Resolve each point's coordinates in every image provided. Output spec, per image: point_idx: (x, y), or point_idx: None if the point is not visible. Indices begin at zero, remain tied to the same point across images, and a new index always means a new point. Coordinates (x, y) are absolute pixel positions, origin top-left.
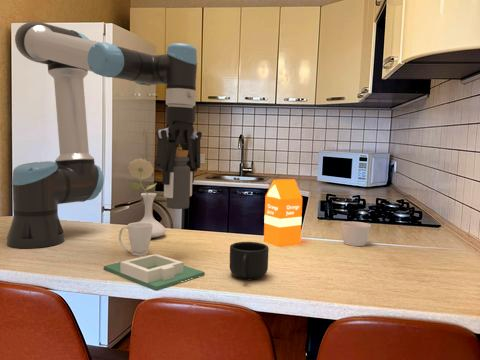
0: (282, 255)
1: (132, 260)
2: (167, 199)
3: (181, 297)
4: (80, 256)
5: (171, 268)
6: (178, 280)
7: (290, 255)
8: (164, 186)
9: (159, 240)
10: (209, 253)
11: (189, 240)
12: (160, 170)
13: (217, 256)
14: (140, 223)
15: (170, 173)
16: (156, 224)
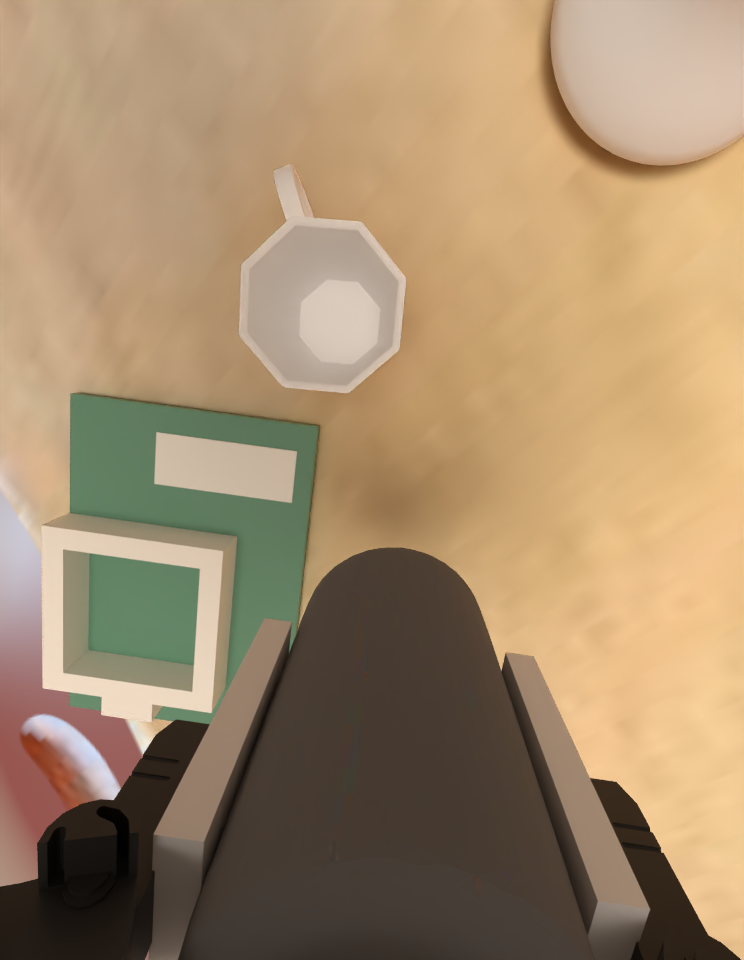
0: (701, 826)
1: (87, 548)
2: (302, 621)
3: (93, 783)
4: (112, 130)
5: (136, 717)
6: (162, 718)
7: (720, 849)
8: (234, 682)
9: (615, 193)
10: (545, 580)
11: (716, 337)
12: (72, 822)
13: (524, 633)
14: (373, 250)
15: (157, 937)
16: (706, 80)
